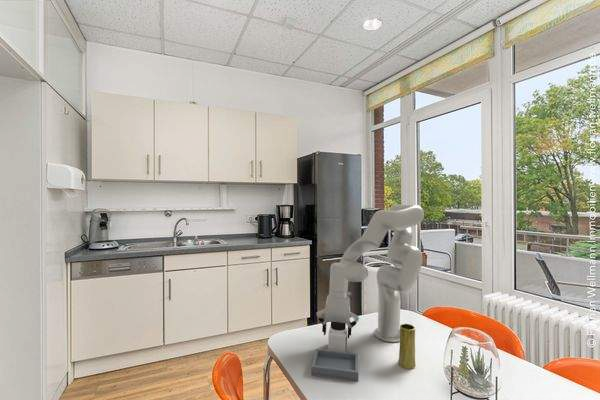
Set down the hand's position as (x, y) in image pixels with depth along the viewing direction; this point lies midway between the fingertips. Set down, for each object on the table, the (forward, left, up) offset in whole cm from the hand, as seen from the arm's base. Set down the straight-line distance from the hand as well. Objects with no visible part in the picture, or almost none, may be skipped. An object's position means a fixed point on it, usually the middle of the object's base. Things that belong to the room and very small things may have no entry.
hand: (336, 335), depth 118 cm
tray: (-1, +14, -6) cm, 15 cm away
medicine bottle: (-1, 0, -6) cm, 6 cm away
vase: (-27, +6, -6) cm, 28 cm away
